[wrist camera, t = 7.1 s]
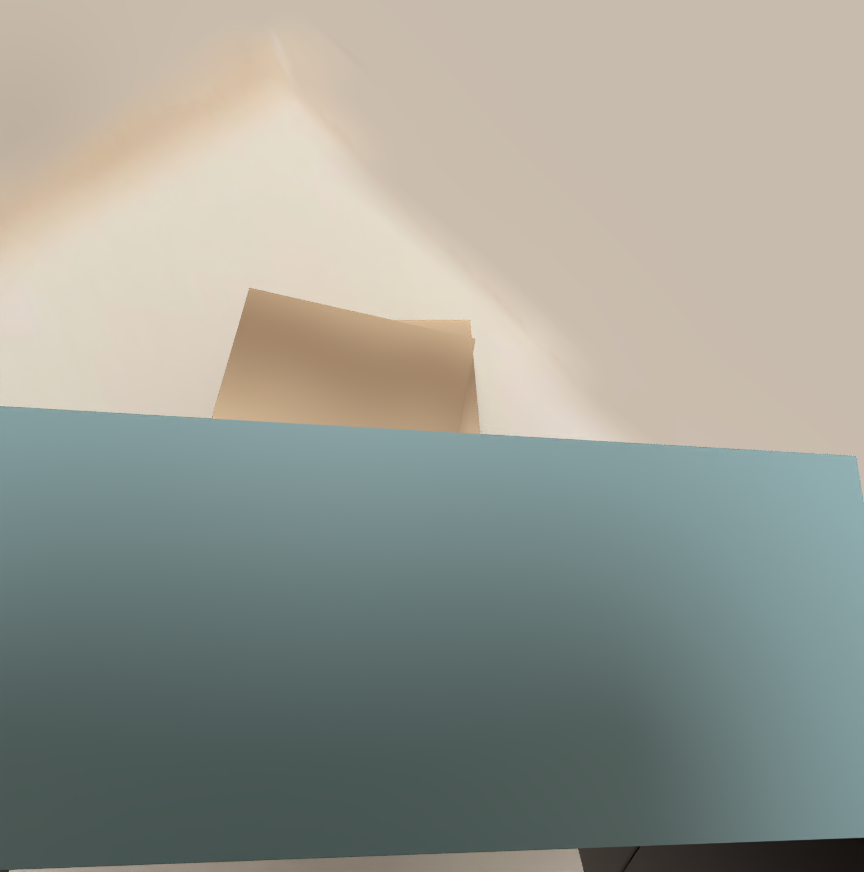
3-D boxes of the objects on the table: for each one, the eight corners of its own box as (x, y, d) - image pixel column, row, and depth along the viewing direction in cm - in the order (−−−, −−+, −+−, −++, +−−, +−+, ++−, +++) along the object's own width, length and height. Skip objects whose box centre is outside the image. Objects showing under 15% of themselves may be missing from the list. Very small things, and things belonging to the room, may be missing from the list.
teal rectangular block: (445, 609, 16) (917, 833, 3) (233, 606, 15) (-686, 893, 2) (446, 547, 16) (856, 454, 3) (240, 540, 16) (-459, 379, 2)
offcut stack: (457, 510, 19) (498, 487, 14) (247, 499, 18) (201, 470, 13) (460, 367, 21) (500, 293, 15) (265, 350, 20) (229, 265, 14)
